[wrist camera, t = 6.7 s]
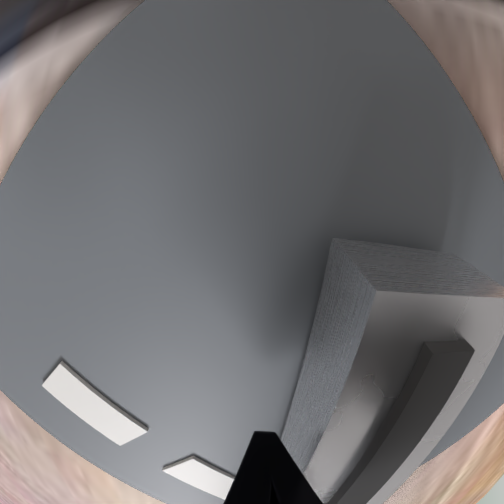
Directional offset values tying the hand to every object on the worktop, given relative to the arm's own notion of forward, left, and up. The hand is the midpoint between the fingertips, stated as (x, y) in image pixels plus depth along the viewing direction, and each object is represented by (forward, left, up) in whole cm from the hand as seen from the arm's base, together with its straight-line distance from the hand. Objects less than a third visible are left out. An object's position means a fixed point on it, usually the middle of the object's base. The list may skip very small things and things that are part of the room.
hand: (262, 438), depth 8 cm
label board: (-1, 0, -3) cm, 3 cm away
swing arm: (-5, +1, -2) cm, 5 cm away
